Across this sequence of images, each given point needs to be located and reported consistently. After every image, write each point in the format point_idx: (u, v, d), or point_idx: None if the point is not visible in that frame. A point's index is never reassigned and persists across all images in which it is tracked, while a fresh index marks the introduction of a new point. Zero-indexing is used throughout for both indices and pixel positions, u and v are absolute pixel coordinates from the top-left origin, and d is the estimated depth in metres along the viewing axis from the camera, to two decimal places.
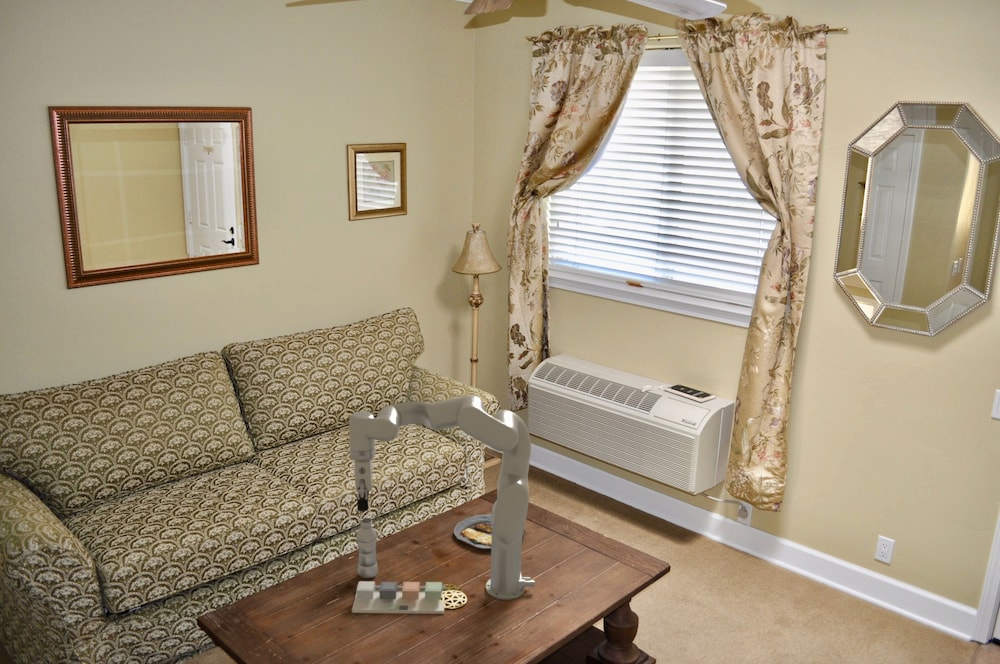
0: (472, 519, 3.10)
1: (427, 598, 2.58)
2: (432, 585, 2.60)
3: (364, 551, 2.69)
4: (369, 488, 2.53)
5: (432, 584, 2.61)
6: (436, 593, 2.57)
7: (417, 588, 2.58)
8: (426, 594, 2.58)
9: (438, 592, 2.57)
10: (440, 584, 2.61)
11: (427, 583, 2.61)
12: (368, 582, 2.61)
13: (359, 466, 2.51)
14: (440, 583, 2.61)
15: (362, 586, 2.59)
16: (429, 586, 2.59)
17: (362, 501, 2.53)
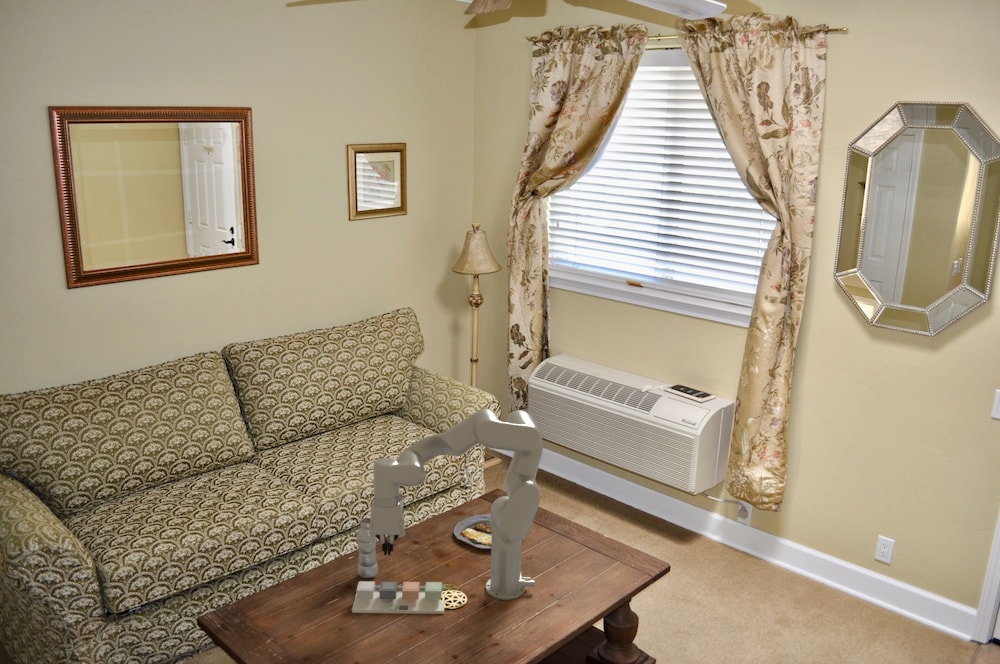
0: (472, 519, 3.10)
1: (427, 598, 2.58)
2: (432, 585, 2.60)
3: (364, 551, 2.69)
4: None
5: (432, 584, 2.61)
6: (436, 593, 2.57)
7: (417, 588, 2.58)
8: (426, 594, 2.58)
9: (438, 592, 2.57)
10: (440, 584, 2.61)
11: (427, 583, 2.61)
12: (368, 582, 2.61)
13: (401, 508, 2.51)
14: (440, 583, 2.61)
15: (362, 586, 2.59)
16: (429, 586, 2.59)
17: None
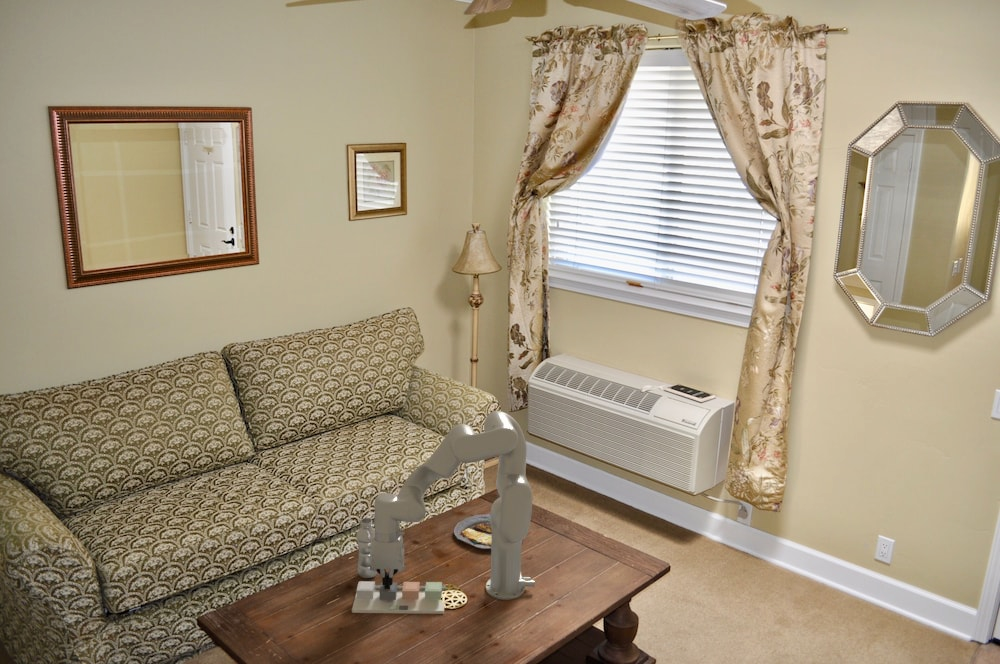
0: (472, 519, 3.10)
1: (427, 598, 2.58)
2: (432, 585, 2.60)
3: (364, 551, 2.69)
4: None
5: (432, 584, 2.61)
6: (436, 593, 2.57)
7: (417, 588, 2.58)
8: (426, 594, 2.58)
9: (438, 592, 2.57)
10: (440, 584, 2.61)
11: (427, 583, 2.61)
12: (368, 582, 2.61)
13: (401, 543, 2.54)
14: (440, 583, 2.61)
15: (362, 586, 2.59)
16: (429, 586, 2.59)
17: (392, 576, 2.58)
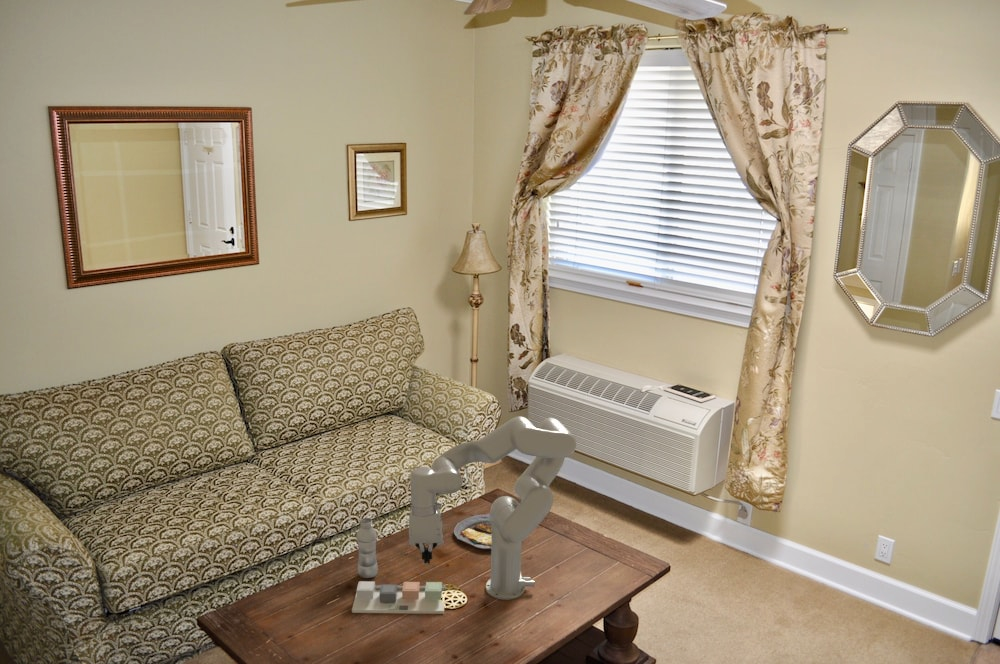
0: (472, 519, 3.10)
1: (427, 598, 2.58)
2: (432, 585, 2.60)
3: (364, 551, 2.69)
4: None
5: (432, 584, 2.61)
6: (436, 593, 2.57)
7: (417, 588, 2.58)
8: (426, 594, 2.58)
9: (438, 592, 2.57)
10: (440, 584, 2.61)
11: (427, 583, 2.61)
12: (368, 582, 2.61)
13: (439, 516, 2.52)
14: (440, 583, 2.61)
15: (362, 586, 2.59)
16: (429, 586, 2.59)
17: (431, 550, 2.56)
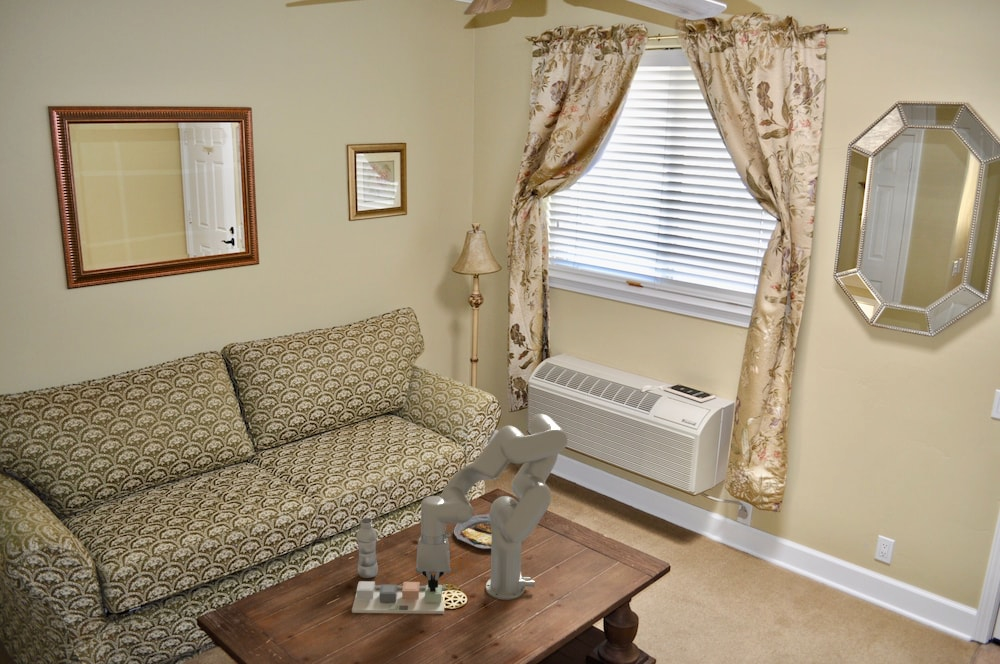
0: (472, 519, 3.10)
1: (427, 601, 2.58)
2: None
3: (364, 551, 2.69)
4: None
5: None
6: (436, 595, 2.58)
7: (417, 588, 2.58)
8: (426, 597, 2.58)
9: (438, 595, 2.58)
10: (440, 587, 2.61)
11: (427, 586, 2.61)
12: (368, 582, 2.61)
13: (448, 545, 2.55)
14: (440, 586, 2.62)
15: (362, 586, 2.59)
16: (429, 589, 2.60)
17: (437, 579, 2.59)
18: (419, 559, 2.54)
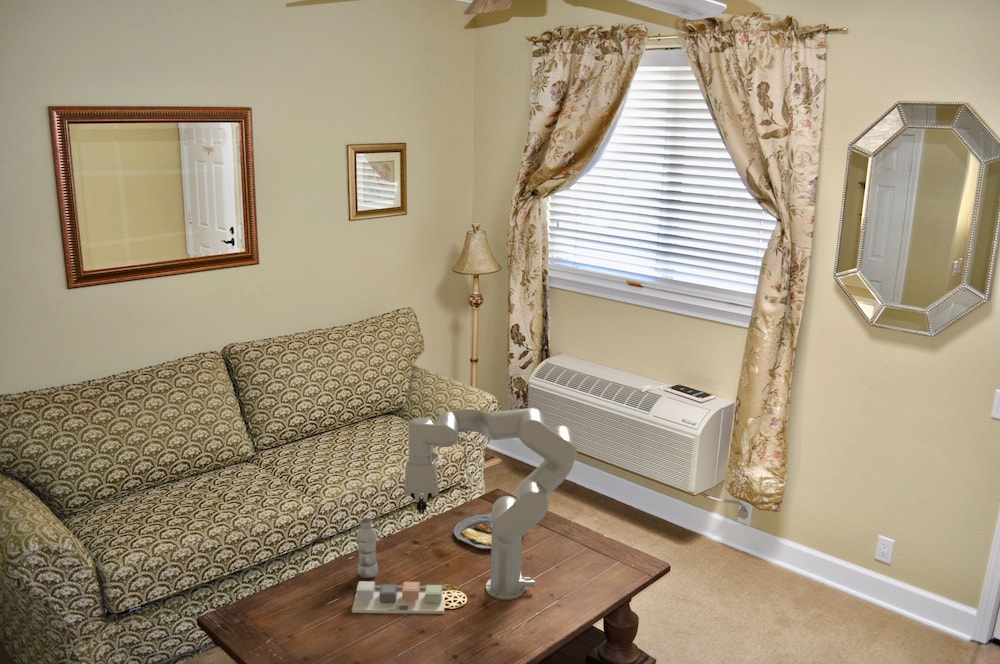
0: (472, 519, 3.10)
1: (427, 601, 2.58)
2: (432, 588, 2.60)
3: (364, 551, 2.69)
4: None
5: (432, 587, 2.61)
6: (436, 596, 2.58)
7: (417, 588, 2.58)
8: (426, 597, 2.58)
9: (438, 595, 2.58)
10: (440, 587, 2.61)
11: (427, 586, 2.61)
12: (368, 582, 2.61)
13: (435, 466, 2.56)
14: (440, 586, 2.62)
15: (362, 586, 2.59)
16: (429, 589, 2.60)
17: (426, 501, 2.60)
18: (407, 481, 2.55)
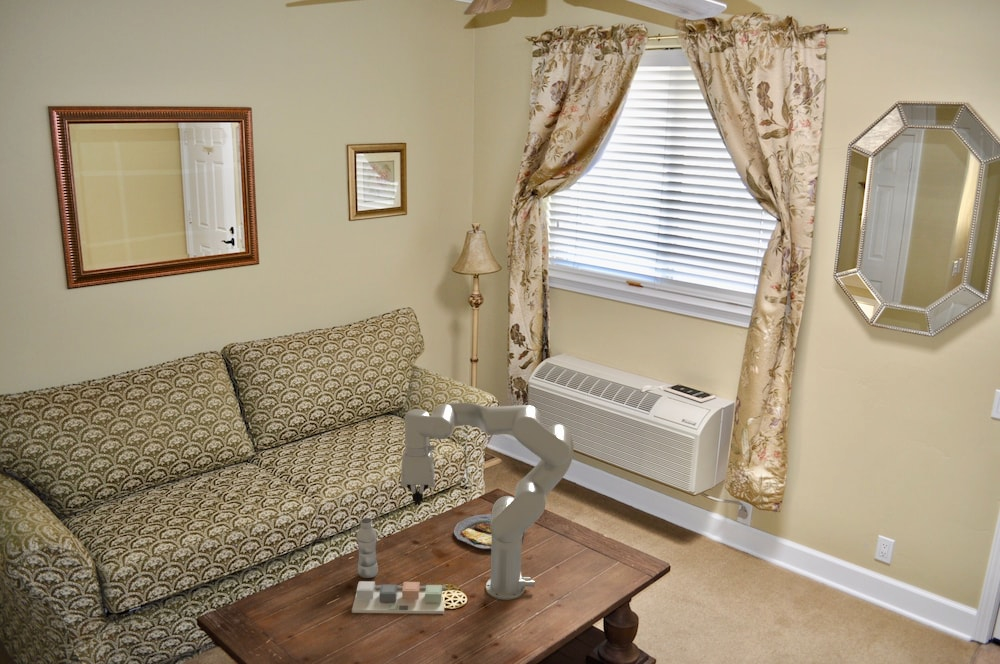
0: (472, 519, 3.10)
1: (427, 601, 2.58)
2: (432, 588, 2.60)
3: (364, 551, 2.69)
4: None
5: (432, 587, 2.61)
6: (436, 596, 2.58)
7: (417, 588, 2.58)
8: (426, 597, 2.58)
9: (438, 595, 2.58)
10: (440, 587, 2.61)
11: (427, 586, 2.61)
12: (368, 582, 2.61)
13: (432, 458, 2.57)
14: (440, 586, 2.62)
15: (362, 586, 2.59)
16: (429, 589, 2.60)
17: (422, 493, 2.61)
18: (403, 472, 2.57)
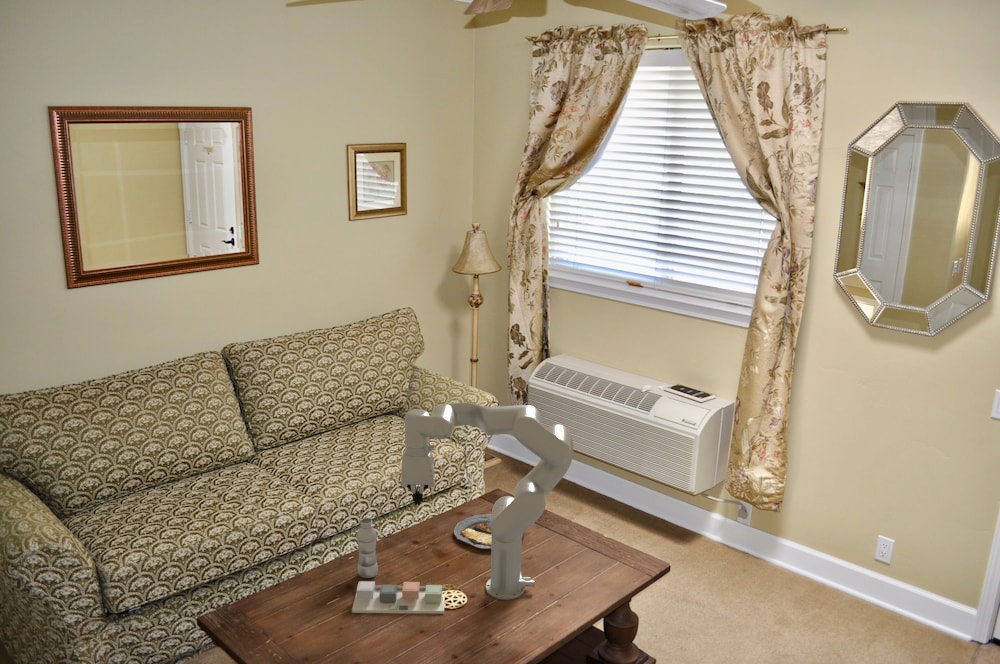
0: (472, 519, 3.10)
1: (427, 601, 2.58)
2: (432, 588, 2.60)
3: (364, 551, 2.69)
4: None
5: (432, 587, 2.61)
6: (436, 596, 2.58)
7: (417, 588, 2.58)
8: (426, 597, 2.58)
9: (438, 595, 2.58)
10: (440, 587, 2.61)
11: (427, 586, 2.61)
12: (368, 582, 2.61)
13: (432, 458, 2.57)
14: (440, 586, 2.62)
15: (362, 586, 2.59)
16: (429, 589, 2.60)
17: (422, 493, 2.61)
18: (403, 472, 2.57)
